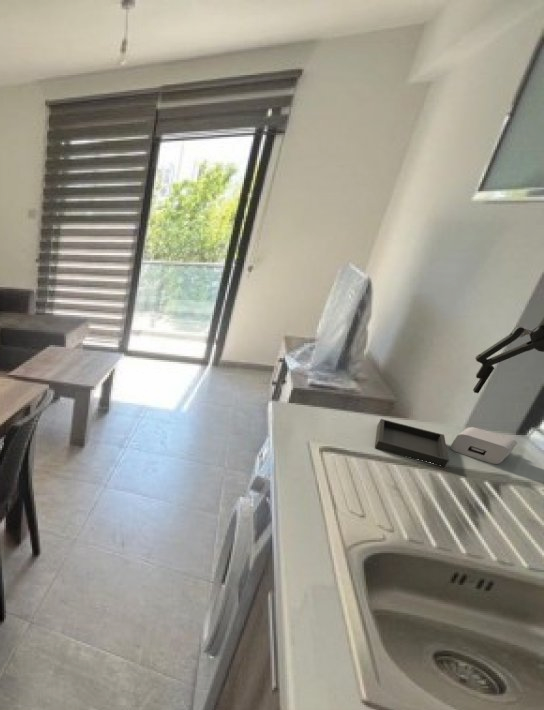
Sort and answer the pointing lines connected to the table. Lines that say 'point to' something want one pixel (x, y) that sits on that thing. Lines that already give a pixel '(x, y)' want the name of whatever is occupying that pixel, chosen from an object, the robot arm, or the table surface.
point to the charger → (483, 445)
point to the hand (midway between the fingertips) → (513, 399)
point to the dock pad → (411, 442)
